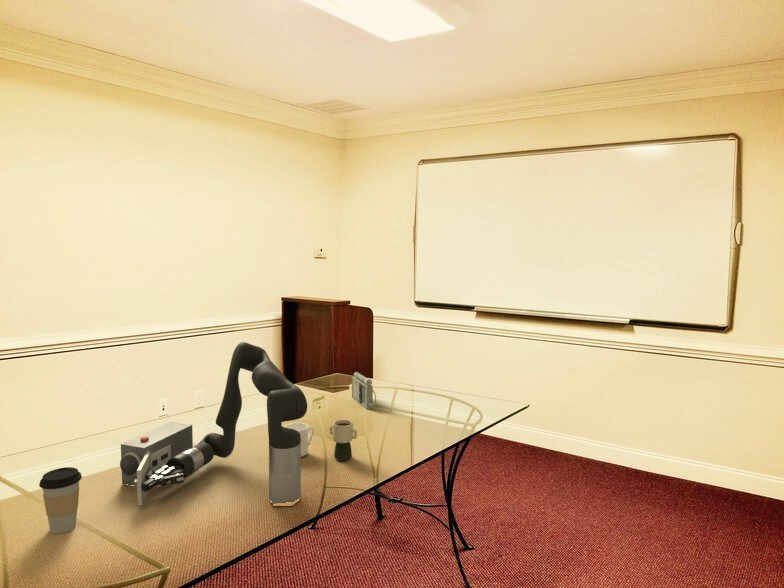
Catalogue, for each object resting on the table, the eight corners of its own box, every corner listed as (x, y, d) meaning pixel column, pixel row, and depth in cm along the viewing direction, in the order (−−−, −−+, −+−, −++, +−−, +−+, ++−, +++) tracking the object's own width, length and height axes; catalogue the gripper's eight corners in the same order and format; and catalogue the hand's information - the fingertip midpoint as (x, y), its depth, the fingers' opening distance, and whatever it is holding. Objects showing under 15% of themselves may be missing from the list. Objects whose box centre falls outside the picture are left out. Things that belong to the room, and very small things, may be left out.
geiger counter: (349, 370, 257) (368, 383, 235) (361, 369, 260) (381, 381, 238) (349, 398, 259) (368, 413, 236) (361, 396, 261) (381, 411, 239)
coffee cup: (75, 515, 144) (73, 462, 143) (89, 527, 138) (87, 472, 137) (36, 529, 137) (33, 474, 136) (49, 542, 131) (46, 485, 130)
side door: (142, 504, 148) (141, 469, 147) (134, 505, 147) (132, 470, 147) (152, 484, 161) (151, 451, 160) (143, 484, 160) (142, 452, 159)
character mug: (361, 457, 187) (361, 422, 185) (351, 464, 180) (351, 428, 179) (334, 452, 191) (335, 417, 190) (324, 459, 185) (324, 423, 183)
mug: (284, 460, 183) (284, 432, 182) (282, 450, 192) (282, 423, 191) (315, 457, 186) (315, 429, 185) (312, 448, 194) (312, 421, 194)
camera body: (171, 457, 184) (170, 419, 183) (194, 461, 181) (193, 422, 180) (116, 487, 161) (115, 443, 160) (141, 492, 158) (140, 447, 157)
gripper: (167, 449, 165) (124, 471, 149) (203, 455, 161) (162, 478, 145) (168, 472, 166) (125, 497, 150) (203, 478, 162) (163, 504, 146)
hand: (143, 488), depth 147 cm, fingers closed
